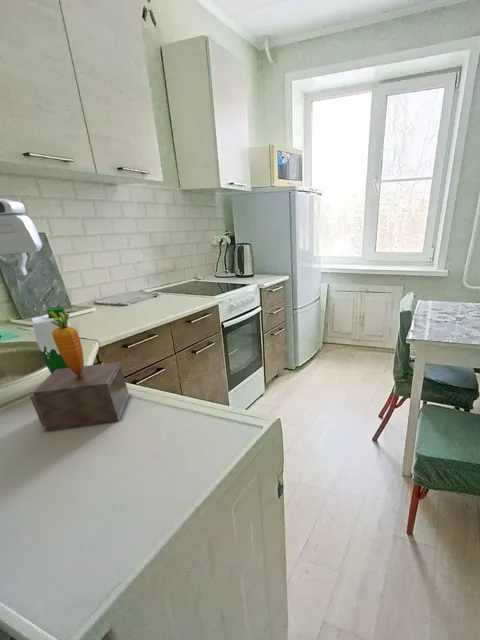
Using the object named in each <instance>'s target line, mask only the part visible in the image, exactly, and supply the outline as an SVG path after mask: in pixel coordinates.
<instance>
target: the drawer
mask: <svg viewBox="0 0 480 640" xmlns="http://www.w3.org/2000/svg"><path fill="white" fill-rule="evenodd" d="M29 398H30V400H31V403H32V405H33V407H34V410H35V412H36V415H37V417H38V419H39V422H40V424H41V427H42V428H47V425H46V423H45V420H44V418H43V416H42V413H41V411H40V408H39V406H38V404H37V401H36V399H35V396H34V394H33V392H32V393H31V394H30V395H29Z"/></svg>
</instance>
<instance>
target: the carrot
mask: <svg viewBox="0 0 480 640" xmlns="http://www.w3.org/2000/svg"><path fill="white" fill-rule="evenodd" d="M49 314H50V315H51V316H52V317H53V318H54V320H55V321H57V322H58V323H57V322H55V321H51V323H53V324H55V325H56V326H58V327H59V328H56V329H54V330H53V331H52V336H53V338H54V341H55V343H56V346H57V348H58V350H59V353H60V355H61V356H62V358H63V360H64V362H65V363H66V365H67V366H68V367H69V369H70V370H71V371H72V372H73V373H75V374H76V375H77V376H80V375H81V374H82V370H83V366H84V362H85V361H84V351H83V346H82V344H81V339H80V335H79V332H78V330H77V329H76V328H75V326H72V325H70V326H67V321H69V316H70V313H69V312H65V316H64V314H63V313H58V314H59V315H60V317H61V319H62V321H61V320H60V318H59V317H58V316H57V315H56V314H55V313H54V312H53V311H50V312H49ZM62 322H63V323H62Z"/></svg>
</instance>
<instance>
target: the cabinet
mask: <svg viewBox="0 0 480 640" xmlns="http://www.w3.org/2000/svg"><path fill="white" fill-rule="evenodd" d="M32 393H33V394H34V396H35V399H36V401H37V404H38V406H39V408H40V411H41V413H42V416H43V418H44V420H45V423H46V425H47V427H46V428H47V430H48V431H49V432H51V431H58V430H64V429H65V430H66V429H73V428H79V427H86V426H92V425H93V426H94V425H100V424H108V423H114V422H119V421H120V419H121V416H122V414H123V412H124V409H125V407H126V405H127V403H128V400H129V398H130V394H129V390H128V386H127V383H126V378H125V375H124V372H123V369H122V364H121V362H120V361H116V362H108V363H99V364H91V365H83V370H82V374H81V375H80V376H77V375H76V374H75V373H73V372H72V371H71V370H70V369H69V368H64V369H56V370H55V371H54V372H53V373H52V374H51V373H50V374H49V375H48V377H46V379H44V380H43V382H42V383H41V384H40V385H39V386H38V387H37V388H35V390H34V391H33V392H32Z"/></svg>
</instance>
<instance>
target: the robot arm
mask: <svg viewBox="0 0 480 640" xmlns="http://www.w3.org/2000/svg"><path fill="white" fill-rule="evenodd" d="M25 213H26V207H25V205H24V203H22V202H20V201H16V200H11V199H7V198H5V197H2V196H0V255H9V254H13V256H14V258H15V259H16V260H18V262H17V266H15V267H13V271H14V272H15V275H16V276H17V277H22V276H27V275H28V271H27V268H26V265H27V261H28V255H27V253H36V252H40V251H41V249H42V248H43V243H42V239H41V237H40V234H39V232H38V230H37V228H36V225H35V224H34V222H33V221H32V219H31V218H30V217H29V216H28V215H25Z"/></svg>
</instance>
